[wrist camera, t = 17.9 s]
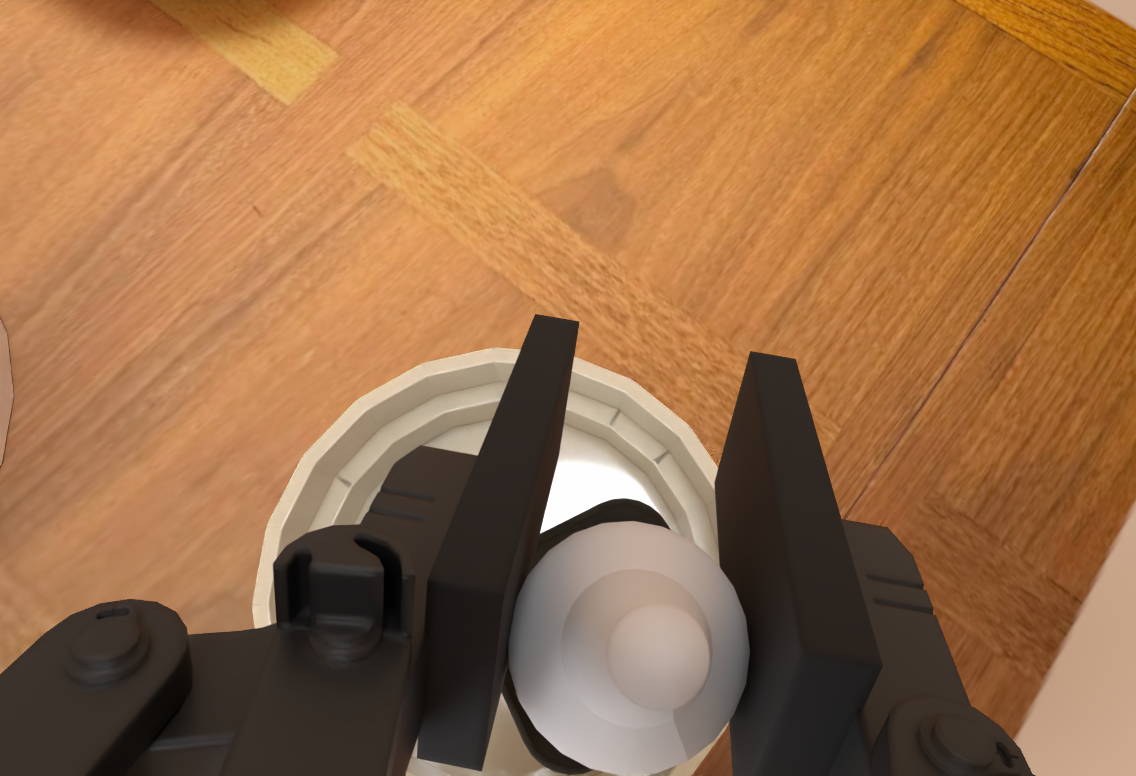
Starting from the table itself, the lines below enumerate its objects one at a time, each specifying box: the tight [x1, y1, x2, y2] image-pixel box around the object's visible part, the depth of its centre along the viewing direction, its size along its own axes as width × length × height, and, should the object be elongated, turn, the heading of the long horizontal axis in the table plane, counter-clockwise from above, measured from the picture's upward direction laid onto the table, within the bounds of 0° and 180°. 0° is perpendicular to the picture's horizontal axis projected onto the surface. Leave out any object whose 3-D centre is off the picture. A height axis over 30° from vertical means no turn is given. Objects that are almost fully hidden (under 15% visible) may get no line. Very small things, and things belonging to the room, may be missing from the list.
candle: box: [501, 498, 750, 776], centre depth 18 cm, size 5×5×25 cm
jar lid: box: [252, 347, 729, 776], centre depth 30 cm, size 17×17×6 cm
